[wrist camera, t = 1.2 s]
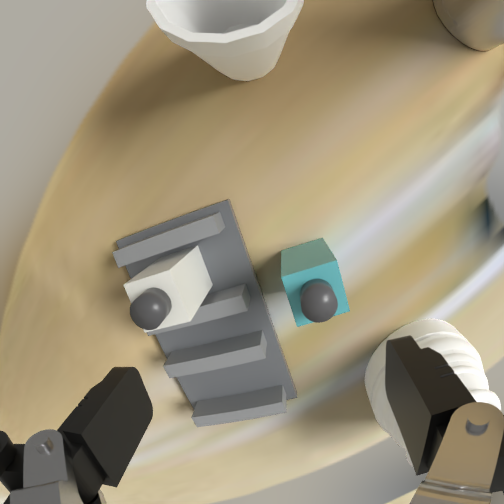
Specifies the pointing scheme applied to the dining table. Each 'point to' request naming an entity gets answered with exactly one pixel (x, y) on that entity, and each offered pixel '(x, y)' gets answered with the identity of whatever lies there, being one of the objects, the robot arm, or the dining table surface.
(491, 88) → the dining table surface
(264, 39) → the foam cup
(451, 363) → the honey pot
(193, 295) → the white plug
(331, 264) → the teal plug
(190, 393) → the comb board
